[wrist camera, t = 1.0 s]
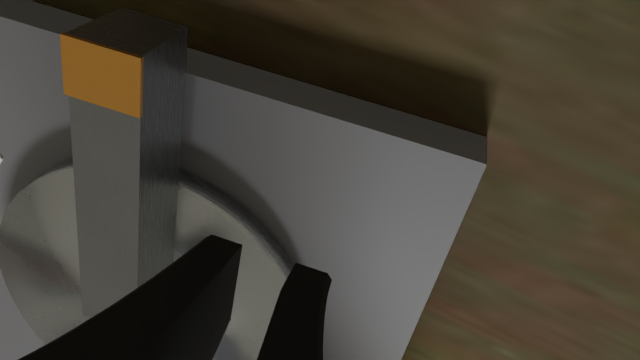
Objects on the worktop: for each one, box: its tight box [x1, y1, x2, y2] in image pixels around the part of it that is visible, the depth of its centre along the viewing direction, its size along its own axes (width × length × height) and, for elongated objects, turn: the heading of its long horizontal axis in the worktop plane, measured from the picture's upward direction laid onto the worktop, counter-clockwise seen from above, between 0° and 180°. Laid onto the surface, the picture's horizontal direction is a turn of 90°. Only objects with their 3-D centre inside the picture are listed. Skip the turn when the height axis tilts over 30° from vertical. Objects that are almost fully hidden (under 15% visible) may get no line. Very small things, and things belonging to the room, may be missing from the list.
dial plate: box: [0, 0, 487, 360], centre depth 24 cm, size 20×20×2 cm
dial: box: [0, 7, 294, 360], centre depth 20 cm, size 18×13×4 cm
